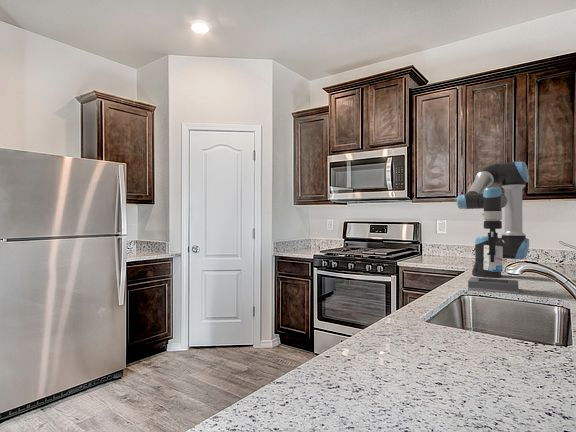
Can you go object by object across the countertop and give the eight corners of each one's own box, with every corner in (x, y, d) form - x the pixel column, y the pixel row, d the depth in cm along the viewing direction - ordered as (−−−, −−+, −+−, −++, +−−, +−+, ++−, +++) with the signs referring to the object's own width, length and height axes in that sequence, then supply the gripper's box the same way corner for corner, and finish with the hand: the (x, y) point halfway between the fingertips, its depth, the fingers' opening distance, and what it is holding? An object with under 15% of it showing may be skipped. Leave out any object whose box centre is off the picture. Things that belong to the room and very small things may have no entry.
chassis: (470, 285, 187) (470, 277, 187) (517, 288, 177) (517, 280, 177) (468, 289, 175) (468, 281, 175) (518, 293, 165) (518, 284, 165)
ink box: (503, 271, 171) (503, 245, 171) (492, 271, 171) (492, 245, 172) (493, 269, 180) (493, 244, 180) (483, 269, 180) (482, 244, 180)
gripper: (485, 220, 187) (485, 265, 187) (482, 220, 168) (482, 270, 168) (502, 220, 184) (502, 266, 183) (501, 220, 164) (501, 271, 164)
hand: (492, 268), depth 176 cm, fingers closed on ink box, 10 cm apart
